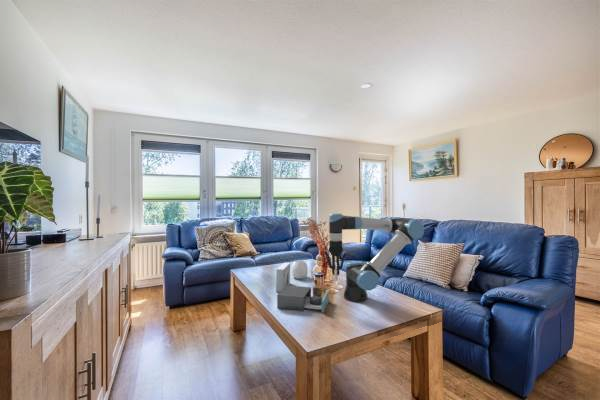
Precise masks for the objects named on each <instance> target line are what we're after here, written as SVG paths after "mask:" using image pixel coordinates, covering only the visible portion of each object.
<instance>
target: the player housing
mask: <svg viewBox="0 0 600 400" xmlns="http://www.w3.org/2000/svg"><path fill="white" fill-rule="evenodd" d="M305 296H310V297H312V287H311V286H300V285H298V286H297V285H287V286H286V287H285V288H284V289H283V290H282V291H281V292H278V293H277V295H276V301H277V303H276V305H277V306H276V307H277V309H279V310H285V311H286V310H288V311H295V312H296V311H298V312H305V310H306V309H307V308H304V298H305Z"/></svg>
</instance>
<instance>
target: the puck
mask: <svg viewBox="0 0 600 400" xmlns="http://www.w3.org/2000/svg"><path fill="white" fill-rule="evenodd" d="M322 299H323V296H321V297H318V296H314V297H313V296H311V298H310V304H312V305H321V300H322Z"/></svg>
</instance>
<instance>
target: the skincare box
mask: <svg viewBox="0 0 600 400" xmlns="http://www.w3.org/2000/svg"><path fill="white" fill-rule="evenodd" d="M275 281H276V282H275V283H276V284H275V287H276V288H275V292H276V293H280V292H281V291H282V290H283V289H284V288H285V287H286V286H287V285H288V286H290V283H291V262H283V263H282V264H281V265H280V266H278V268H276V280H275Z"/></svg>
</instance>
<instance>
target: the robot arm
mask: <svg viewBox="0 0 600 400" xmlns="http://www.w3.org/2000/svg"><path fill="white" fill-rule="evenodd" d="M328 225H329V227H328V228H329V230H328V231H329V232H328V235H329V237H328V239H329V241H328V242H329V243H328V247H329V248H328V250H325V252H324V254H325V255H326V259H327V264H328V268H329V269H331V271H332V276H334V277H333V278H334V281H333V282H338V277H339V275H340V270H342V269H343V267H344V262H345V259H346V256H347V254H348V252H347V251H345V250H344V249H343V230H360V229H361V230H371V231H381V232H382V231H383V232H384V231H385V232H386V233H388V234H394V235H393V236H392V237H391V239H389V240H388V242H386V243H385V245H384V246H383V247H382V248H381V249H380V250H379V252H377V254H376V255H374V257H373V258H372V259H371V260H370V261H365V262H364V261H347V262H346V264H345V278H346V279H345V282H346V283H345V288H344V291H343V298H344V299H345V300H347V301H349V302H354V303H357V302H358V303H359V302H360V303H361V302H365V301H367V300H368V292H367V291H372V290H374V289H376V288H377V287H378V285H379V281H380V277H382V271H383V270H384V269H385V268H386V267H387V266H388V265H389V264H390V263H391V261H393V259H394V258H395V257H396V256H397V255H398V254H399V253H400V252H401V251H402V250H403V248H404V247H405V246H406V245H409V244H410V245H411V243H413V242H414V240H420V239H421V238H422V237H423V236H424V233H425V226H424V224H423V223H422V222H421V221H420V220H419V219H415V218H405V217H402V218H401V217H399V218H397V217H395V218H390V217H389V218H373V217H361V216H351V215H343V214H342V213H330V214H329V219H328ZM330 254H331V257H330ZM341 254H342V258H341V262H340V256H341ZM331 258H332V260H331Z"/></svg>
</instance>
